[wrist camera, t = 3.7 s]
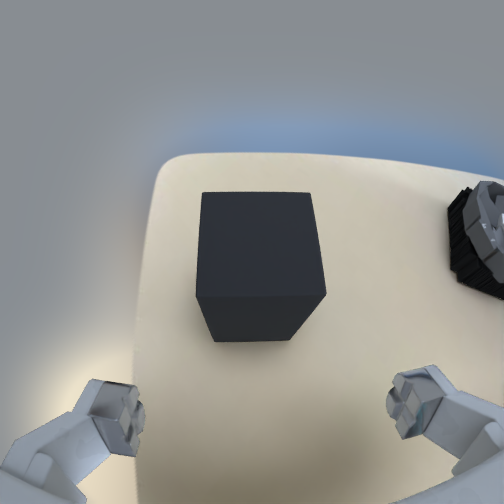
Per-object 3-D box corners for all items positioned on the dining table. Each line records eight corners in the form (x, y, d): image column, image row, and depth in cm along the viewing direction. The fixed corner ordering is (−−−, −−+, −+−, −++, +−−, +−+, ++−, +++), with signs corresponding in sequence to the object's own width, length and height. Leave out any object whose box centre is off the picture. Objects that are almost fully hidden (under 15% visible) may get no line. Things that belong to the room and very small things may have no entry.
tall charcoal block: (289, 340, 19) (327, 294, 11) (213, 342, 19) (195, 297, 11) (284, 271, 21) (310, 192, 13) (214, 272, 21) (201, 191, 13)
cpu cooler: (532, 202, 20) (550, 287, 15) (504, 230, 25) (513, 309, 20) (467, 161, 21) (484, 251, 16) (441, 197, 26) (444, 282, 21)
